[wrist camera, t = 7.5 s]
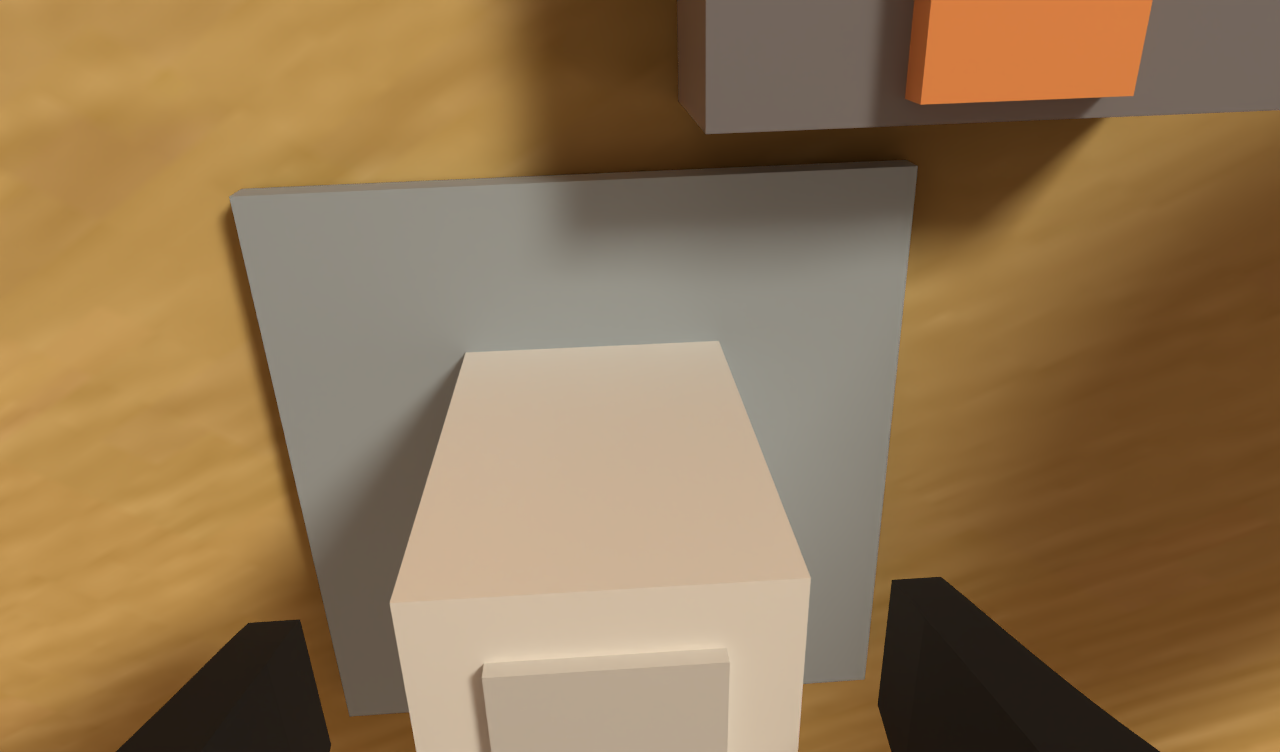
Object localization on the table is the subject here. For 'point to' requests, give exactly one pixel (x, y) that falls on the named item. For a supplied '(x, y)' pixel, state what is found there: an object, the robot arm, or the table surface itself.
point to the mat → (580, 317)
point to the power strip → (859, 61)
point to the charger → (601, 562)
